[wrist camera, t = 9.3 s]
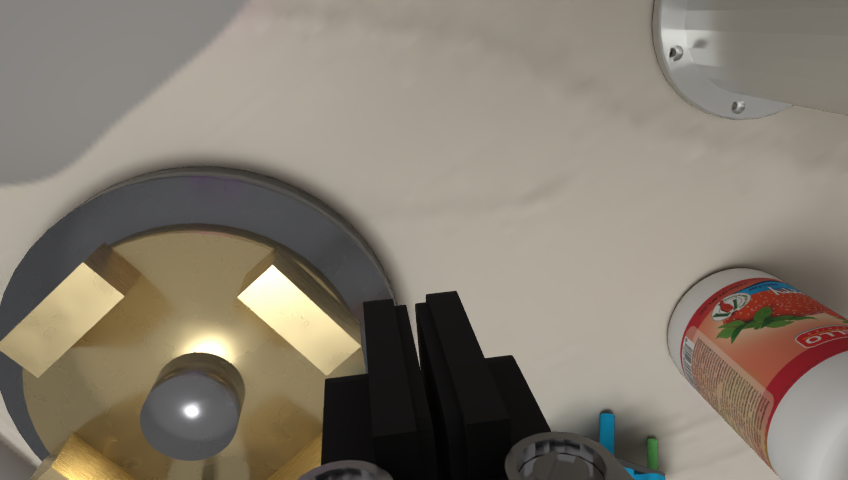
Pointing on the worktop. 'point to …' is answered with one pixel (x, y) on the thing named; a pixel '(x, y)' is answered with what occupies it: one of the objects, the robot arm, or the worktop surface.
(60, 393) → the four-jaw chuck
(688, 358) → the fruit juice
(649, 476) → the gear
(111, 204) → the cap flange
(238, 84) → the worktop surface
